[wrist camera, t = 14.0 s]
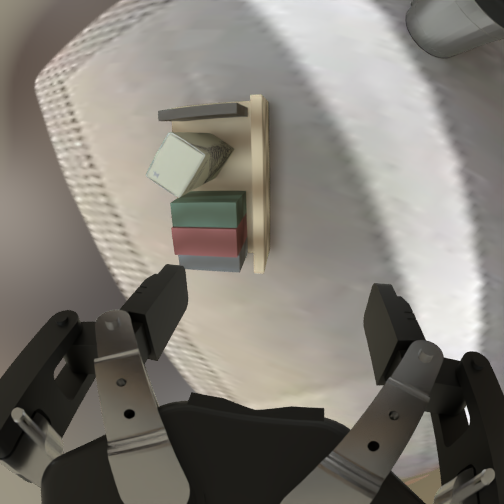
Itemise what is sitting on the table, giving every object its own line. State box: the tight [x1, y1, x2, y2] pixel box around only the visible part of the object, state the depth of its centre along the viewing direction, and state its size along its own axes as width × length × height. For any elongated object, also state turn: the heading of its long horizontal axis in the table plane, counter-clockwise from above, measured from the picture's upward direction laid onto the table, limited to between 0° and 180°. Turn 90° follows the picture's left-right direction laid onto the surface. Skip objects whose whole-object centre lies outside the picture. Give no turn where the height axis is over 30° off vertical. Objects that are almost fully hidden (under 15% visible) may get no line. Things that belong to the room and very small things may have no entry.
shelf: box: [158, 95, 270, 274], centre depth 35 cm, size 21×13×8 cm, turn 1°
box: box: [146, 132, 234, 198], centre depth 30 cm, size 5×4×13 cm
